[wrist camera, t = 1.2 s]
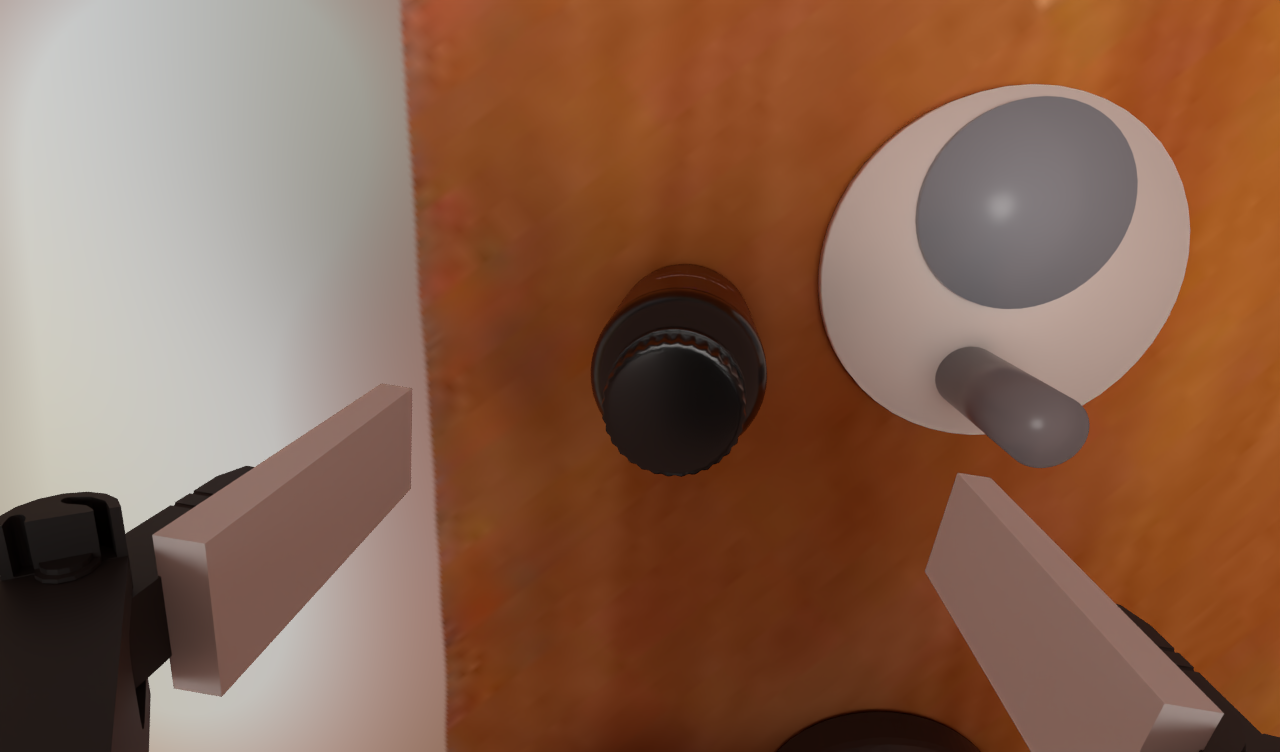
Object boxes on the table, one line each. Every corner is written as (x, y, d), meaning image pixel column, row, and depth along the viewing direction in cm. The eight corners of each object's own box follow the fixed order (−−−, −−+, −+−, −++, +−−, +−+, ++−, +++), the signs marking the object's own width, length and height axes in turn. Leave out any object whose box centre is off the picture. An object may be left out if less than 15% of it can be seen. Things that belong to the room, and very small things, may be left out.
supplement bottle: (714, 236, 30) (727, 270, 18) (772, 358, 31) (818, 457, 20) (592, 300, 31) (534, 367, 20) (653, 412, 33) (632, 535, 21)
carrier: (1099, 449, 31) (1229, 534, 24) (787, 401, 32) (817, 469, 24) (1233, 113, 26) (1451, 84, 19) (862, 65, 27) (928, 18, 19)
